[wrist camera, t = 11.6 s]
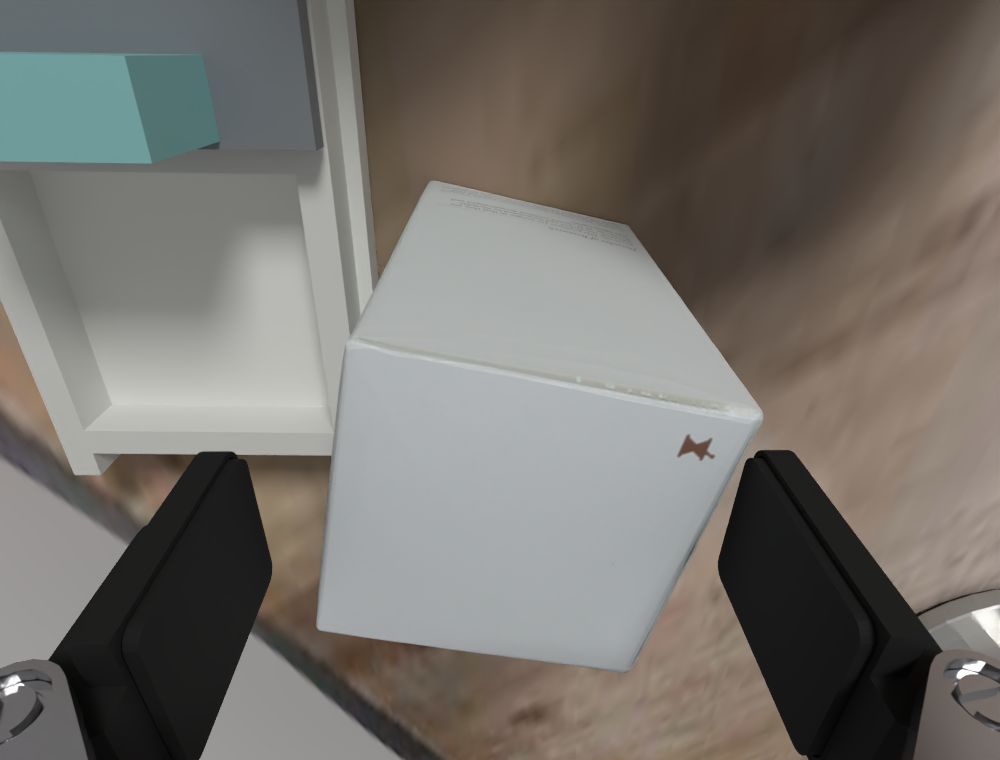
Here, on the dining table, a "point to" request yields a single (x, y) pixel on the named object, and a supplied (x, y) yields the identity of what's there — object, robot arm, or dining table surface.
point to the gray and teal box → (154, 79)
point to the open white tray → (197, 283)
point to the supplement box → (523, 439)
